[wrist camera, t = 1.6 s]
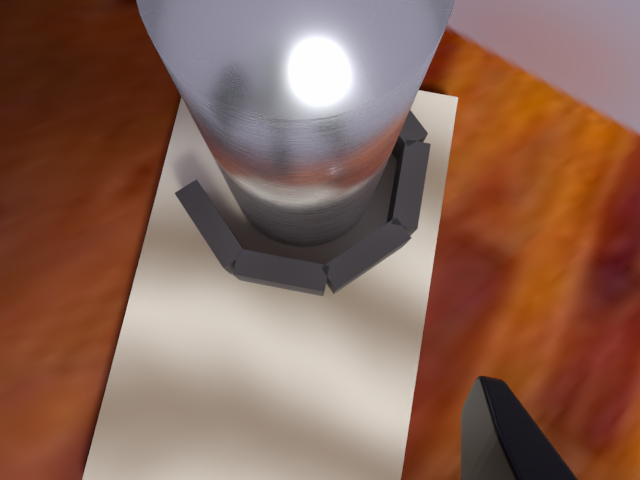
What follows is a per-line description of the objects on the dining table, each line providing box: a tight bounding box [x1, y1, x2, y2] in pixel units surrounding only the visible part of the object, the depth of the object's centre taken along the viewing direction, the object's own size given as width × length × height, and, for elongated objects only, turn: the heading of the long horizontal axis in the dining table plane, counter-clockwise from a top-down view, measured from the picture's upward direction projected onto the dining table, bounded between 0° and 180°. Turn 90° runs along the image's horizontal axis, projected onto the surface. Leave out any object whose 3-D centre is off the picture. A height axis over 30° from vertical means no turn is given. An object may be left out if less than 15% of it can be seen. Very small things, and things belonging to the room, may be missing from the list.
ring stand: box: [82, 90, 458, 480], centre depth 21 cm, size 19×12×3 cm, turn 169°
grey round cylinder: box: [136, 0, 454, 247], centre depth 16 cm, size 6×6×13 cm
